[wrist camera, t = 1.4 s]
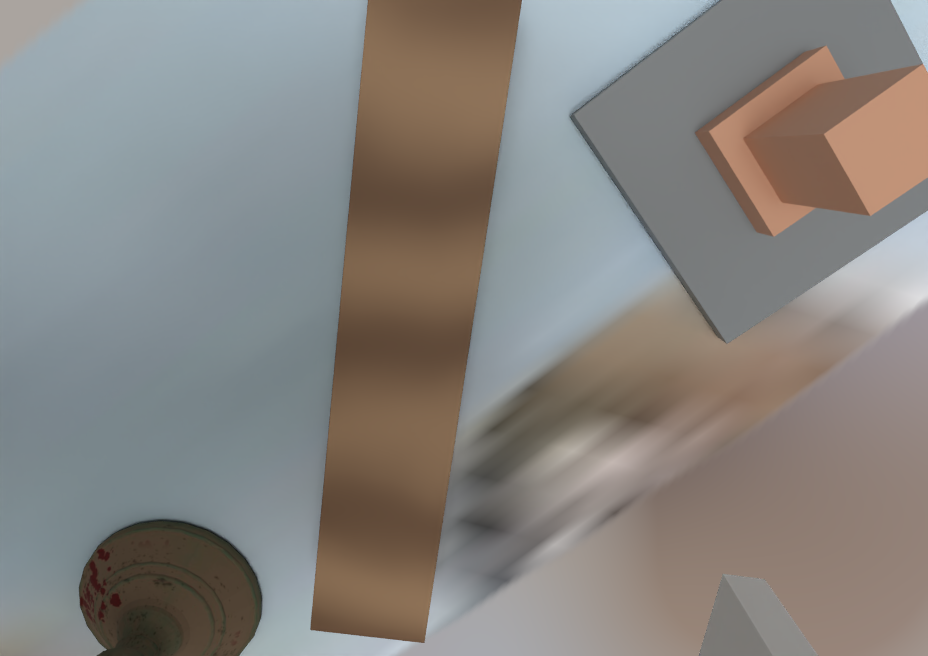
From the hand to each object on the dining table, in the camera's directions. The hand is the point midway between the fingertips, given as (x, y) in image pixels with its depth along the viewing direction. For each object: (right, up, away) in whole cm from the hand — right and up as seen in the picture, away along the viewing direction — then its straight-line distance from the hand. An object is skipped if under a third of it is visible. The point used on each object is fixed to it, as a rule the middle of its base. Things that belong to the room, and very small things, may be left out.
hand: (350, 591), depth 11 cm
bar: (0, +5, +18) cm, 18 cm away
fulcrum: (+15, +12, +15) cm, 25 cm away
